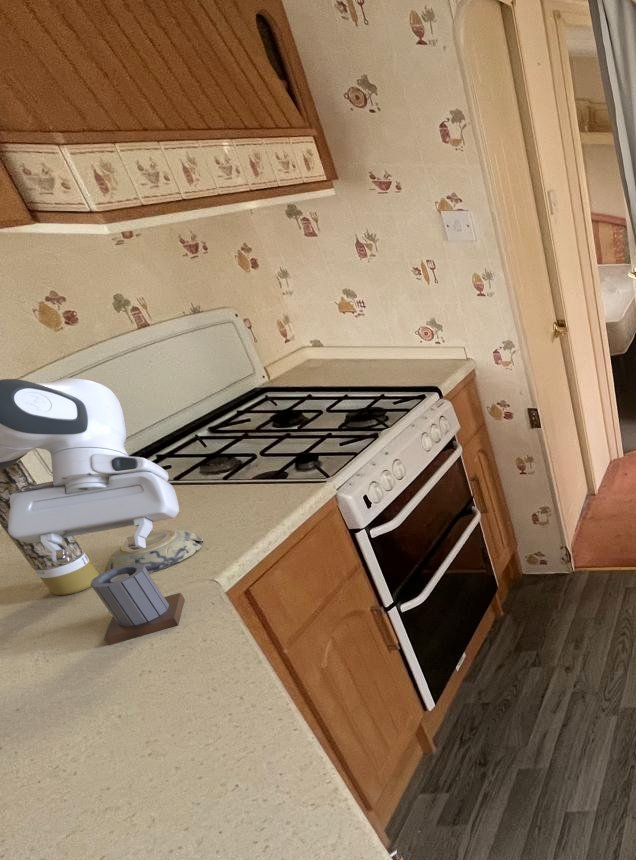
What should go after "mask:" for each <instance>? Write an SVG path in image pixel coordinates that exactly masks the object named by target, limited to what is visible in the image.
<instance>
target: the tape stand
mask: <svg viewBox="0 0 636 860" xmlns="http://www.w3.org/2000/svg"><path fill="white" fill-rule="evenodd" d="M127 577H130V575H129V574H121V575H118V576H115V577H113V578H112V579H111V580H110V582H111V583H113V582H117V581H120V580H123V579H125V578H127ZM164 598H165V599H166V601H167V602H168V604H169V607H168V610H167V611H166V612H164V613H163V614H162V615H160V616H159V617H157V618H155V619H153V620H151V621H147V622H146V623H142V624H139V625H134V626H121V625H119V624H118V623H117V622H116V620H115V619H114V617H113V616H112V617H111V619H110V622H109V624H108V627H107V629H106V631H105V634H104V637H103V639H104V640H105V642H106V644H107V645H108V646H111V645H115V644H118V643H121V642H125V641H128V640H131V639H135V638H139V637H142V636H145V635H149V634H152V633H156V632H159V631H163V630H166V629H169V628H174V627H177V626H179V624H180V621H181V616H182V613H183V608H184V603H185V600H186V599H185V597H184V595H183V594H182V592H177V593H174V594H171V595H166V596H164Z"/></svg>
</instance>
